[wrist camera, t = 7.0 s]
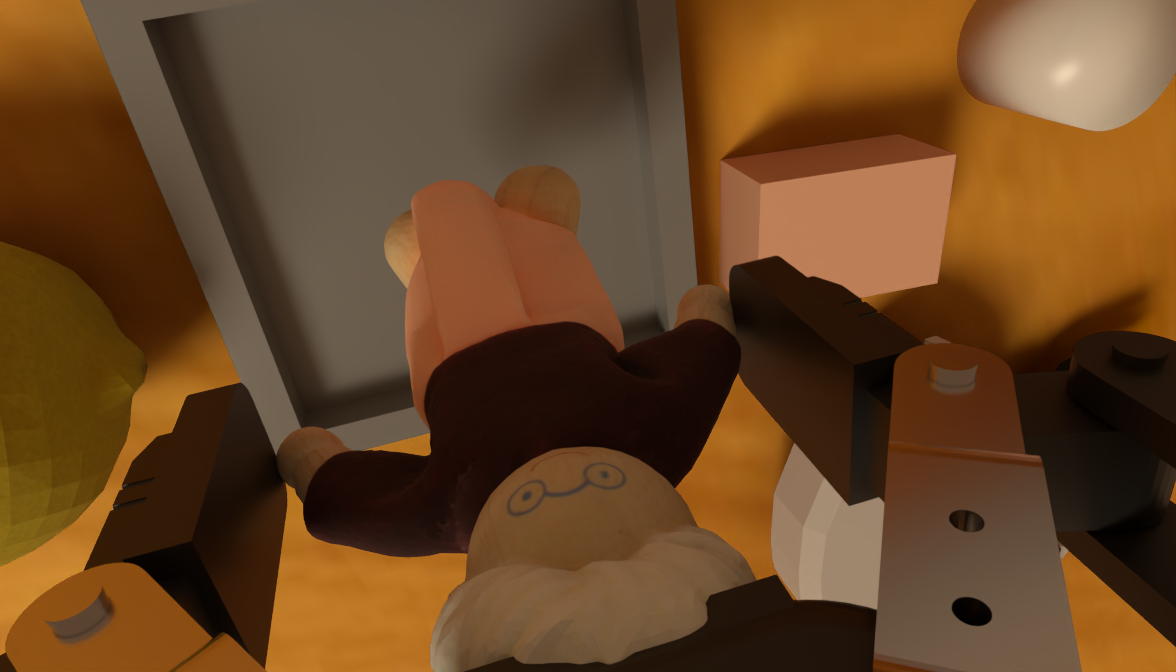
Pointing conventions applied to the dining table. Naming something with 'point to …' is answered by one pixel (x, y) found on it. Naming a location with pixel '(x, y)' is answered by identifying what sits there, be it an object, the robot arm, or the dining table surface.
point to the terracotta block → (840, 212)
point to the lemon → (57, 398)
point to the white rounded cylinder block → (1069, 57)
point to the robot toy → (829, 534)
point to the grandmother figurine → (535, 438)
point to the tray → (392, 166)
